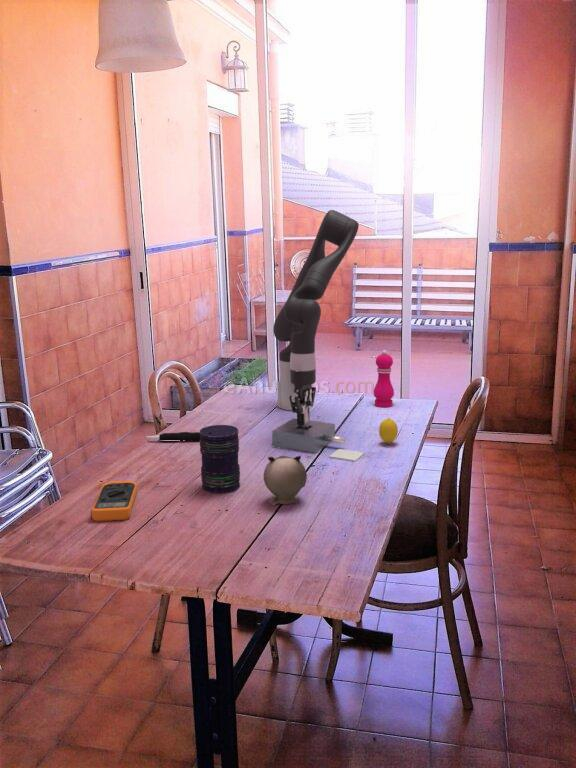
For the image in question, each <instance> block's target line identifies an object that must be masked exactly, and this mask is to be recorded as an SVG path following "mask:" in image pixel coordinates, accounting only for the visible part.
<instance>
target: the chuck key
mask: <svg viewBox="0 0 576 768" xmlns="http://www.w3.org/2000/svg"><path fill="white" fill-rule="evenodd" d="M300 403H303V402H300ZM312 405H313V406H314V404H313V403H312V401H307V404H306V406H305V411H304V413H305V424H304V425H303V426H300V429H305V430H308V429H309V420H310V417H309V418H308V407H307V406H312ZM301 408H302V406H301Z"/></svg>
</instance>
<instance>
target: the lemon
mask: <svg viewBox="0 0 576 768" xmlns="http://www.w3.org/2000/svg"><path fill="white" fill-rule="evenodd" d="M398 434H399V429H398V425H397V423H396V422H395V420H394V419H391V418H390V417H387V418H386V419H384V420H382V421H381V422H380V425H379V428H378V435H379V437H380V439H381V440H382V441H383V442H385V443H386V444H387V445H389V444H390V443H392V442H394V441H395V440H396V439H397V438H398Z"/></svg>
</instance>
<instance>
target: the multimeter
mask: <svg viewBox="0 0 576 768" xmlns="http://www.w3.org/2000/svg"><path fill="white" fill-rule="evenodd" d="M137 494H138V483H137V482H136V481H134V480H118V481H117V480H114V481H113V480H112V481H109V482H106V483H104V484H102V485H101V488H100V490H99V493H98V495H97V498H96V500H95V503H94V505H93V506H92V508H91V517H92V520H93V521H94V522H113V521H112V520H117V521H126V520H129V519H130V517H131V514H132V509H133V507H134V506H133V505H134V502H135V500H136V497H137Z"/></svg>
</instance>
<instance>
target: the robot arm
mask: <svg viewBox="0 0 576 768" xmlns="http://www.w3.org/2000/svg"><path fill="white" fill-rule="evenodd" d="M359 227H360V225H359V222H358V221H357V220H356V219H354V218H351V217H350V216H348V215H345V214H344V213H341V212H340V211H337V210H334V209H330V210H328V211H327V212H326V213H325V215H324V217H323V219H322V221H321V223H320V226H319V228H318V231H317V233H316V236H315V239H314V241H313V244H312V247H311V248H310V251H309V253H308V255H307V257H306V260H305V262H304V263H303V265H302V267H301V269H300V272H299V274H298V275H297V278H296V279H295V283H294V285H293V287H292V289H291V291H290V293H289V295H288V298H287V299H286V301H285V303H284V305H283V306H282V308H281V309H280V310H279V313H278V314H277V317H276V318H275V321H274V323H273V335H274V338H275V339H276V340H278V341H280V342H289V344H287V346H286V347H285V348H283V349H282V350H281V351H280V352H279V354H278V355H279V356H278V358H279V361H278V362H279V363H278V364H279V365H278V366H279V380H277V407H279V408H280V409H282V410H286V411H292V413H294V414H295V413H296V419H297V425H300V426H303V425H304V424H305V413H304V411H305V406H306V404H307V401H312V403H313V405H312V406H307V407H308V418H309V421H311V420H310V411H311V410H312V407H313V406H314V403H315V399H316V398H315V397H316V392H317V387H314V386H313V385H314V384H315V383H316V382H317V381H316V380H317V378H316V377H317V376H316V375H317V374H316V373H317V372H316V371H317V370H316V367H317V366H316V365H317V364H316V363H317V361H316V360H317V358H316V349H315V348H316V347H315V346H316V345H315V344H316V341H315V339H316V336H317V335H316V334H317V331H318V327H319V324H320V319H321V315H322V309H321V306H320V303H319V302H318V301H319V300H320V299H322V298H323V296H324V294H325V292H326V290H327V288H328V285H329V284H330V281H331V279H332V278H333V275H334V273H335V272H336V270H337V269H338V267H339V266H340V264H341V263H342V261H343V259H344V258H345V256H346V254H347V252H348V251H349V250H350V248H351V246H352V244H353V243H354V240H355V239H356V237H357V234H358V232H359ZM326 241H327V242H329V243H331V244H332V245H335V246H337V247H336V249H335V250H334V251H332V252H331V253H329V254H328V255H327V256H326V251H325V247H326ZM300 402H303V403H300ZM301 406H302V408H301Z"/></svg>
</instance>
